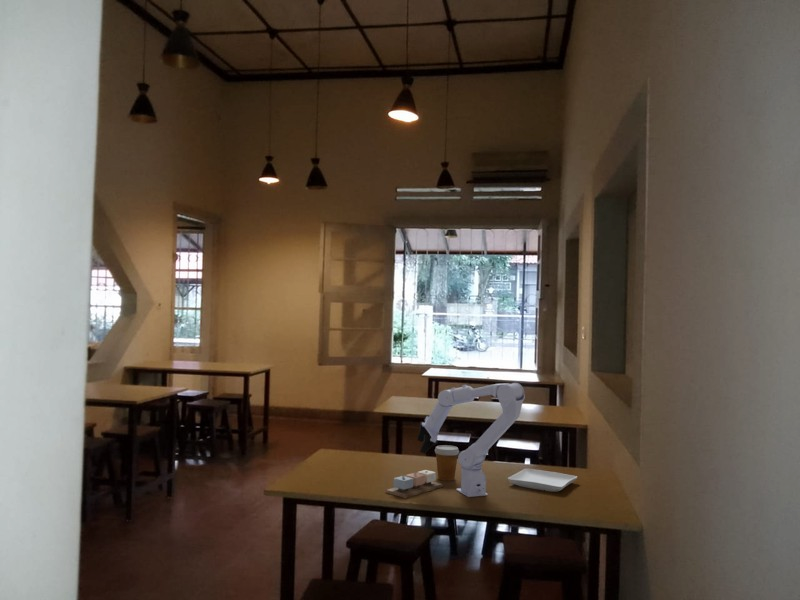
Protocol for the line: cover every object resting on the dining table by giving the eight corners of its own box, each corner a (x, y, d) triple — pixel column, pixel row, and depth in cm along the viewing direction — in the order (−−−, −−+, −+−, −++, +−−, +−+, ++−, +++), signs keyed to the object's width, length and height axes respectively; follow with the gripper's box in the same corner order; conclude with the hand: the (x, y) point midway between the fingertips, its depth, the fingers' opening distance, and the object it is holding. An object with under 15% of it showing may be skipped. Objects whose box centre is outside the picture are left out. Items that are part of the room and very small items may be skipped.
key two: (414, 480, 231) (414, 472, 232) (424, 483, 228) (425, 474, 228) (405, 483, 228) (405, 474, 228) (416, 486, 224) (416, 477, 224)
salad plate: (525, 475, 255) (525, 467, 255) (578, 484, 244) (578, 475, 244) (506, 487, 236) (506, 477, 236) (562, 496, 225) (562, 486, 226)
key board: (423, 482, 239) (423, 473, 239) (442, 486, 233) (442, 478, 233) (386, 492, 223) (386, 483, 223) (405, 498, 217) (405, 488, 217)
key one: (425, 477, 236) (425, 469, 236) (435, 480, 233) (436, 471, 233) (416, 480, 233) (417, 471, 233) (427, 482, 229) (427, 474, 229)
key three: (402, 484, 227) (402, 475, 227) (413, 486, 223) (413, 477, 223) (393, 486, 223) (393, 477, 223) (404, 489, 219) (404, 480, 220)
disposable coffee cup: (449, 483, 238) (450, 451, 238) (429, 478, 244) (429, 447, 244) (463, 478, 246) (463, 447, 246) (442, 474, 251) (443, 444, 252)
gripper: (424, 404, 241) (409, 432, 245) (431, 424, 228) (414, 454, 231) (441, 410, 243) (425, 438, 247) (448, 430, 229) (431, 460, 233)
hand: (421, 446), depth 239 cm, fingers open, 7 cm apart
